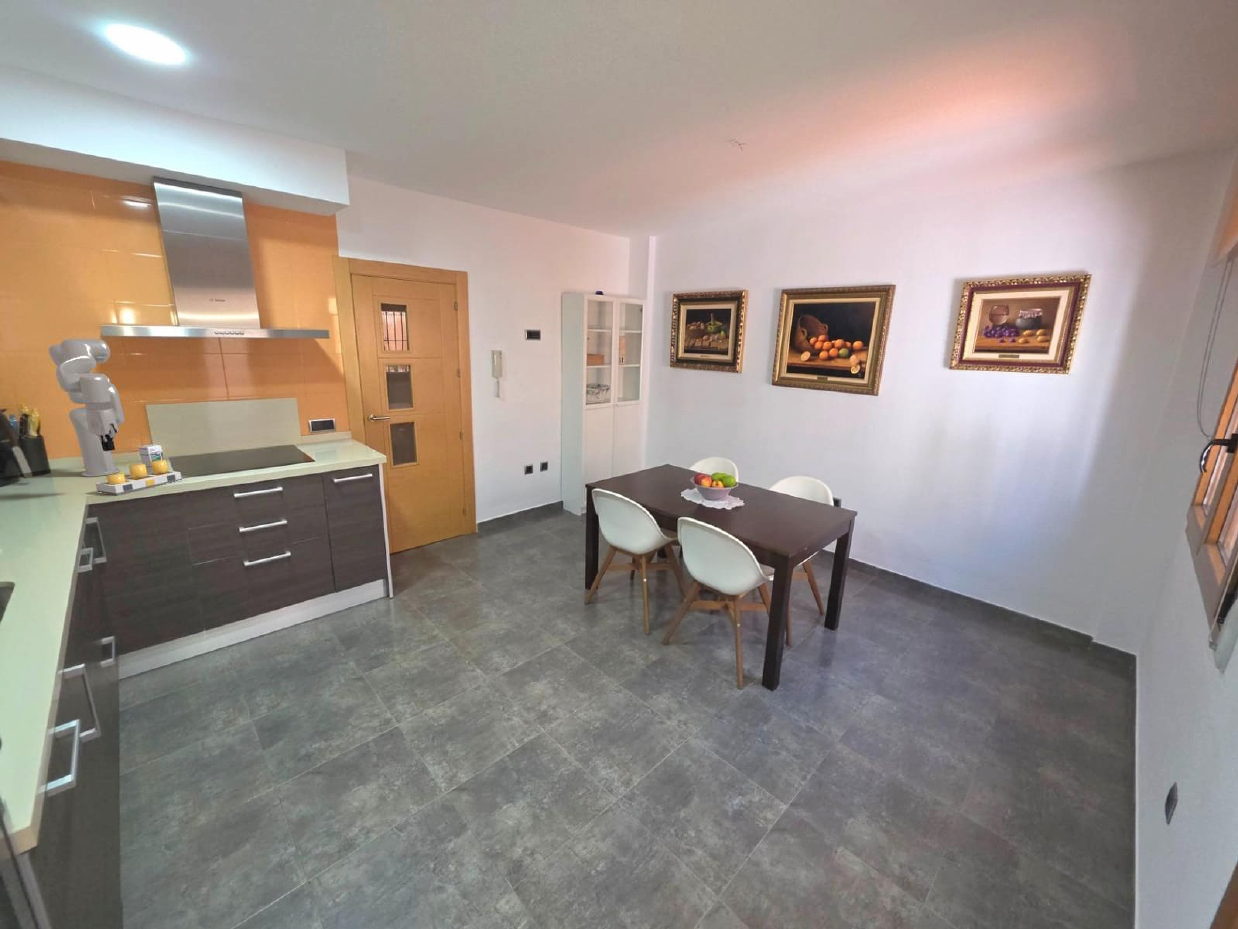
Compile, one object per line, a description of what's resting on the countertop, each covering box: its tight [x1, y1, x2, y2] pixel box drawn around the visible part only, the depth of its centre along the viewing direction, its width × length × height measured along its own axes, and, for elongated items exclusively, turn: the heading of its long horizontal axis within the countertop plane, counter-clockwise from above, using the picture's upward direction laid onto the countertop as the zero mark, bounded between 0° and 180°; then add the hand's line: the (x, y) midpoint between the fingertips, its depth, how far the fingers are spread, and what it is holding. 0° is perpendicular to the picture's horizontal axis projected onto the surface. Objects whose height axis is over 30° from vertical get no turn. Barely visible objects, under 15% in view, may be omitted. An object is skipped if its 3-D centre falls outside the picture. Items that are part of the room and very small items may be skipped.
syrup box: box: [137, 444, 165, 473], centre depth 230 cm, size 6×6×14 cm
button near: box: [106, 472, 126, 485], centre depth 206 cm, size 5×5×6 cm
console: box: [95, 470, 183, 497], centre depth 214 cm, size 12×24×4 cm, turn 164°
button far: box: [150, 459, 169, 476], centre depth 221 cm, size 5×5×6 cm
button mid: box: [128, 463, 148, 480], centre depth 213 cm, size 5×5×6 cm
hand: (109, 450), depth 203 cm, fingers closed
